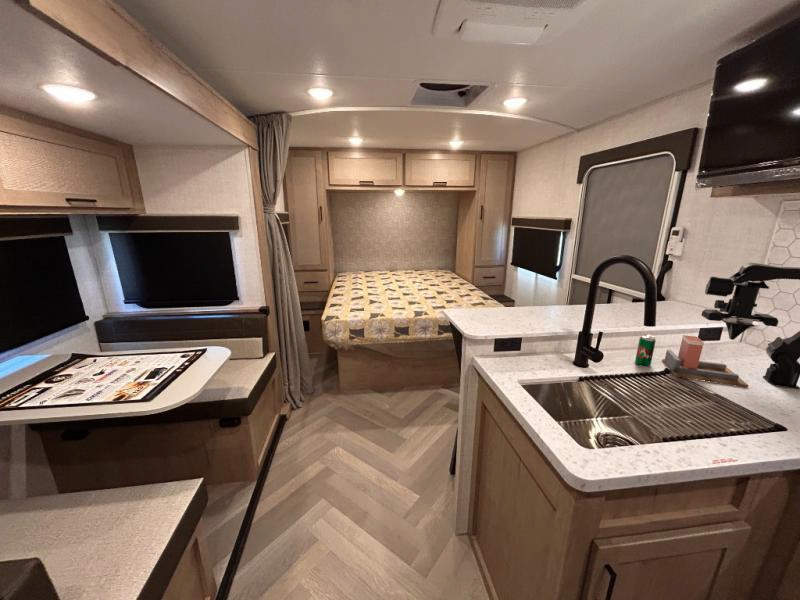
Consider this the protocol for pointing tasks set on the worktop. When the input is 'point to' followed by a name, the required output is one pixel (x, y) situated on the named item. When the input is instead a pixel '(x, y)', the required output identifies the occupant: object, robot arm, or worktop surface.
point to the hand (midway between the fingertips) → (731, 339)
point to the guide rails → (675, 367)
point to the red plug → (690, 351)
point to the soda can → (645, 350)
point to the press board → (723, 381)
